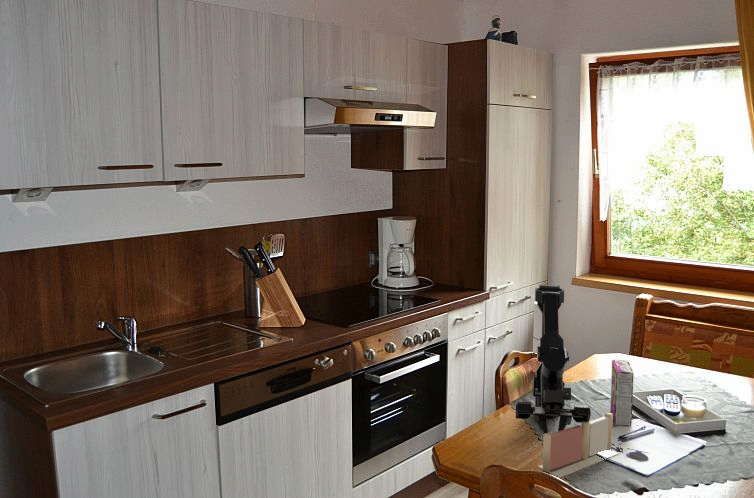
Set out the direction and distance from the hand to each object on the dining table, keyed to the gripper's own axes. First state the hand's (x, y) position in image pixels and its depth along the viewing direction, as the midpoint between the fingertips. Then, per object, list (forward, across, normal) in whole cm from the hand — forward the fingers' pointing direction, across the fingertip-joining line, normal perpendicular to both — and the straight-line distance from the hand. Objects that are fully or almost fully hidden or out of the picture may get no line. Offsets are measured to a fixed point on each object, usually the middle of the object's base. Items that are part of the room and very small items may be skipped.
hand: (552, 444), depth 179 cm
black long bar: (-45, 0, +57) cm, 73 cm away
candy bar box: (-18, +21, +29) cm, 40 cm away
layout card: (+1, +7, +7) cm, 10 cm away
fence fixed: (-2, +12, +10) cm, 15 cm away
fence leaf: (+4, +2, +3) cm, 6 cm away
